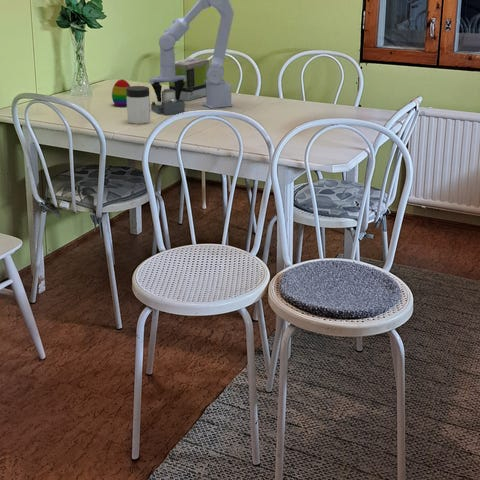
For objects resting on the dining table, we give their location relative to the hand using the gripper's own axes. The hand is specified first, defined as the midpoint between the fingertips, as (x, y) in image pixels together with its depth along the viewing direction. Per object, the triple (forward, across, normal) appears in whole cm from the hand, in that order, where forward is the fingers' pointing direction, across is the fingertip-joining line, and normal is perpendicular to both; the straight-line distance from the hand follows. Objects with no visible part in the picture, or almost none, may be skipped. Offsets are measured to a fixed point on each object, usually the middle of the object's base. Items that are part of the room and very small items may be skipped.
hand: (168, 100), depth 313 cm
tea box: (+2, -14, -11) cm, 18 cm away
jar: (+2, +20, +20) cm, 28 cm away
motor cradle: (+2, +4, +10) cm, 11 cm away
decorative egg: (+2, +16, -8) cm, 18 cm away
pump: (+2, 0, 0) cm, 2 cm away
